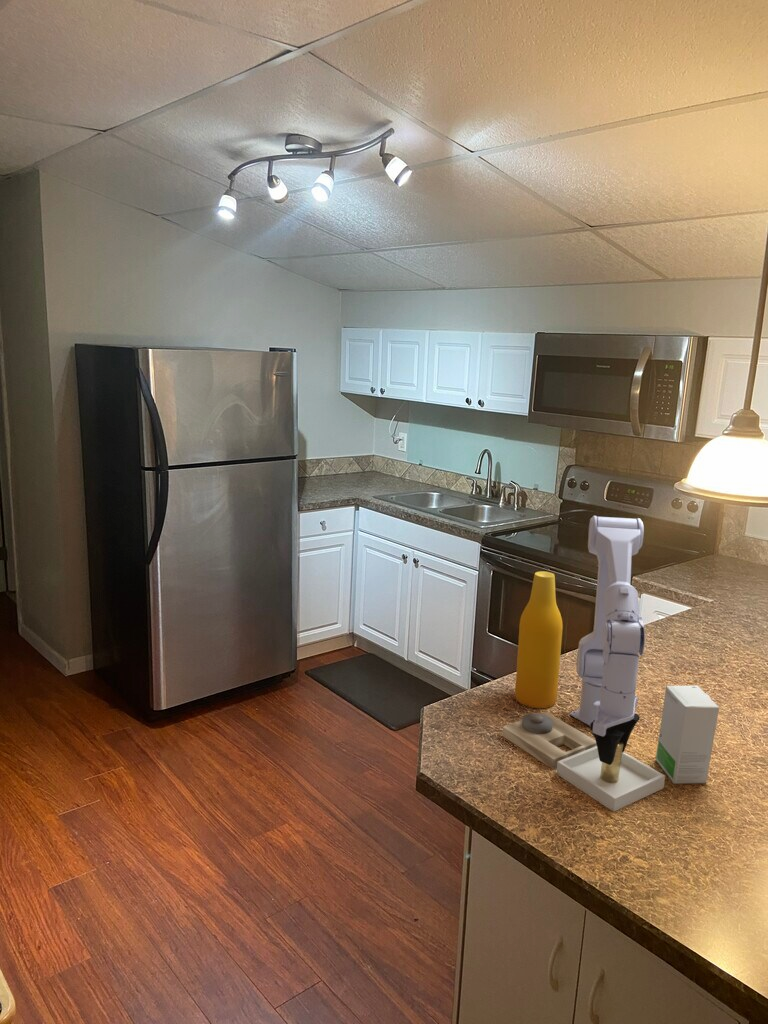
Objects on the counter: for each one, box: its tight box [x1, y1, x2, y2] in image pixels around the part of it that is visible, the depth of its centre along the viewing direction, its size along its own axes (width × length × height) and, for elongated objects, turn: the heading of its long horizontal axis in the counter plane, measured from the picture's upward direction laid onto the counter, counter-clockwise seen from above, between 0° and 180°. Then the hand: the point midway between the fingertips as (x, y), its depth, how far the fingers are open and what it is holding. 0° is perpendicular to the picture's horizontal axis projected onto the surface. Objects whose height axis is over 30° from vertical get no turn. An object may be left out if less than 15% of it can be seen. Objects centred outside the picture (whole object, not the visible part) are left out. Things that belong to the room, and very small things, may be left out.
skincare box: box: [655, 685, 720, 785], centre depth 136 cm, size 8×7×16 cm
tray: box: [556, 746, 666, 813], centre depth 134 cm, size 13×13×2 cm
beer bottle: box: [514, 570, 563, 709], centre depth 161 cm, size 9×9×29 cm
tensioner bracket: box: [501, 711, 597, 770], centre depth 146 cm, size 12×14×4 cm
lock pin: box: [600, 741, 623, 783], centre depth 134 cm, size 3×3×7 cm
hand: (611, 756), depth 133 cm, fingers open, 4 cm apart
